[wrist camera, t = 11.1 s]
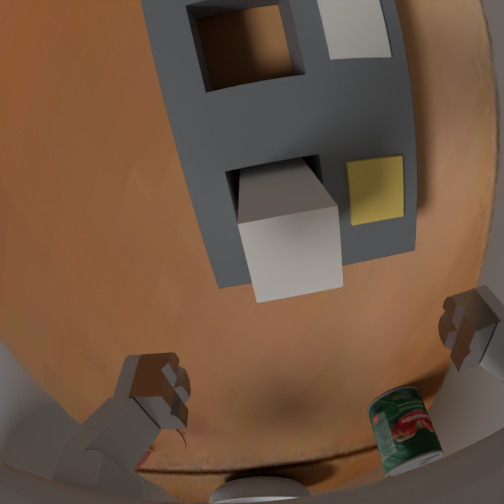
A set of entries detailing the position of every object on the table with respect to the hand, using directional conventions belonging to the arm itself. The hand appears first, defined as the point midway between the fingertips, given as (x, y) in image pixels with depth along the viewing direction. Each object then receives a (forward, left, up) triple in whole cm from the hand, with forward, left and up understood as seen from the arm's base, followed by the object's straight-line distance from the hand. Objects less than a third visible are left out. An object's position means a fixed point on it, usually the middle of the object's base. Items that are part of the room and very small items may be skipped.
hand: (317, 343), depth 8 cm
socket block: (-5, +2, -15) cm, 16 cm away
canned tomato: (+33, +12, -15) cm, 39 cm away
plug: (0, 0, -15) cm, 15 cm away
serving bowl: (+59, -12, -15) cm, 62 cm away
